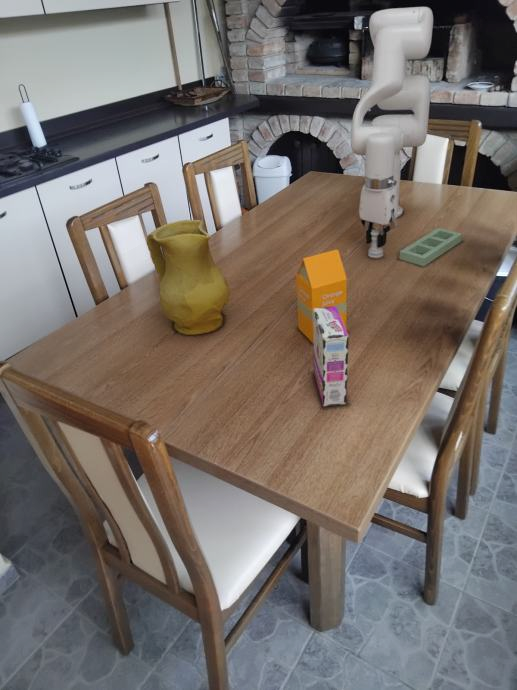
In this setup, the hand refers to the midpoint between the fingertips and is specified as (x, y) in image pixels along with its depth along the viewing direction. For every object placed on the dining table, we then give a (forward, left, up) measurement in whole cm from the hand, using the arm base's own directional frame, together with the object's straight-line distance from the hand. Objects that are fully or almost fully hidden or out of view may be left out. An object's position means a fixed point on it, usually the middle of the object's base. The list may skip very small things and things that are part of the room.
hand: (375, 243), depth 157 cm
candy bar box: (+40, -49, -4) cm, 63 cm away
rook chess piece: (0, 0, -4) cm, 4 cm away
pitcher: (-2, -58, -4) cm, 58 cm away
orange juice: (+22, -37, -4) cm, 43 cm away
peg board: (+8, +15, -4) cm, 17 cm away
